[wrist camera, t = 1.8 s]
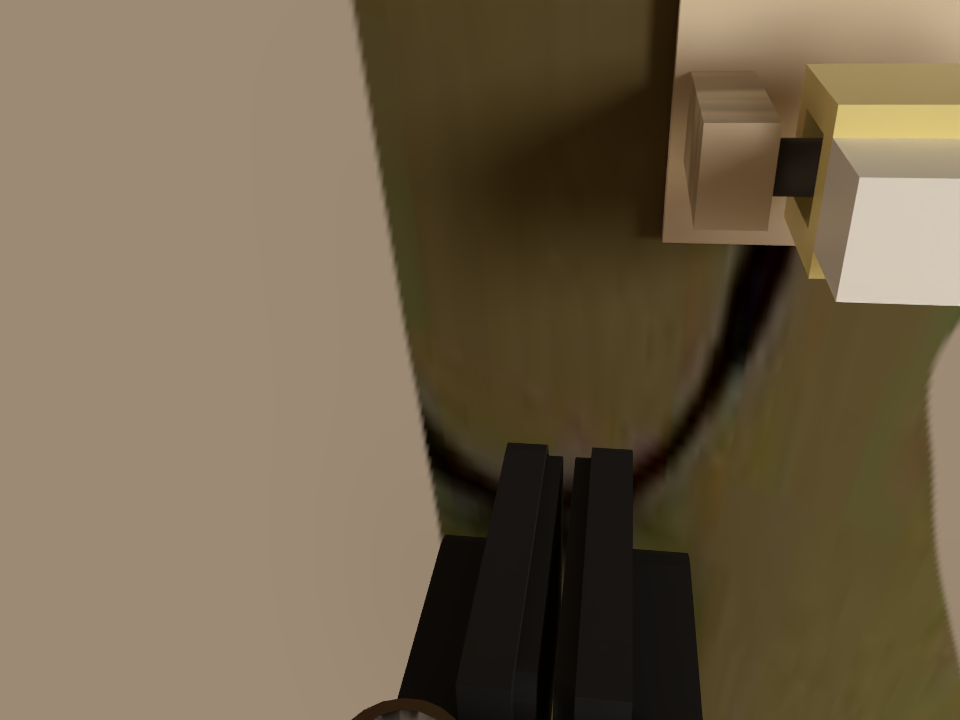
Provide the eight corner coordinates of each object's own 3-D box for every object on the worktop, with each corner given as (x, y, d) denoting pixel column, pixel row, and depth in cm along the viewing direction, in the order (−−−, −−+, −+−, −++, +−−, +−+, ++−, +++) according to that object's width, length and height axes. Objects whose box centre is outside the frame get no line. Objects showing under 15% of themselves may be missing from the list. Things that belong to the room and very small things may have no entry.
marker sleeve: (806, 63, 25) (866, 140, 18) (955, 62, 24) (1073, 142, 18) (783, 215, 27) (830, 331, 20) (919, 218, 26) (1011, 339, 20)
